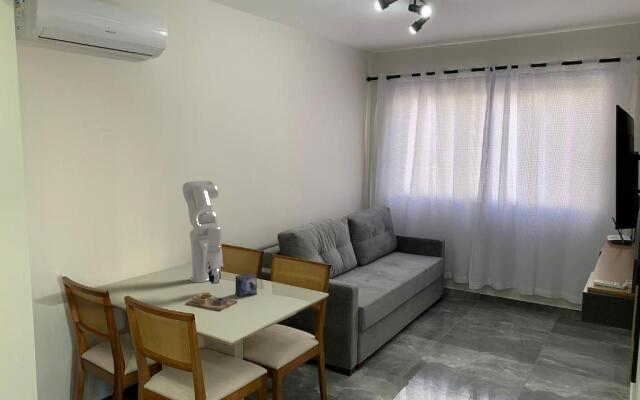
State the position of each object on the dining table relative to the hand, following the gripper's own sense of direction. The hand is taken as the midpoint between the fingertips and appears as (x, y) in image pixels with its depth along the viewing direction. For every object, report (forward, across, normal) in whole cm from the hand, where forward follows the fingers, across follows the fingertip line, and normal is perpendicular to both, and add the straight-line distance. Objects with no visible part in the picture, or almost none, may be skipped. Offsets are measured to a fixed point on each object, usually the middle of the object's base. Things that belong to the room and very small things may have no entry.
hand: (214, 280), depth 268 cm
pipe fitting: (+2, 0, 0) cm, 2 cm away
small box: (+7, -4, +18) cm, 20 cm away
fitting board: (+6, +17, +11) cm, 21 cm away
